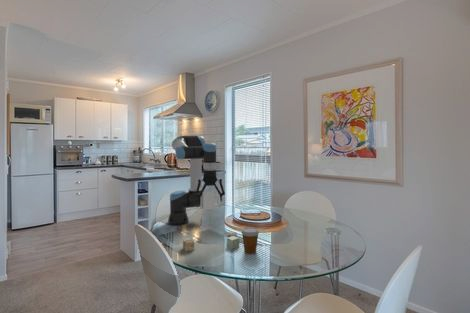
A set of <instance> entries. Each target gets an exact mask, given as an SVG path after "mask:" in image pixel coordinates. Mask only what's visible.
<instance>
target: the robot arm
mask: <svg viewBox="0 0 470 313" xmlns="http://www.w3.org/2000/svg"><path fill="white" fill-rule="evenodd" d="M171 147H172V149H173V150H174V151H175V152H174V153H175V155H174V156H175V158H176V160H189V167H190V169H189V170H190V172H189V173H190V179H189V180H190V182H189V184H190V188H188V191H186V190H185V189H184V190H181V189H180V190H176V191H173V192H171V193H170V195H169V201H170V202H169V203H170V204H169V205H170V206H169V207H170V208H169V209H170V210H169V216H168V220H167V223H169V224H168V225H170V224H172V225H171V226H183V225H187V224H188V223H189V220H190V219H189V216H188V214H187V209H190V208H200V209H202V193H203V191H204V190H205V189H206V187H209V186H210V187H211V186H214V188H215V190H216V192H217V194H218V195H219V196H220V199H219V198H218V197H217V198H218V199H217V200H218V203H217V204H219V202H220V203H221V202H222V201H223V196H224V195H225V194H226V193H225V190H224V186H223V180H222V178H221V177H220V178H217V170H216V169H217V144H216V143H213V142H211V143H210V142H209V143H208V142H207V143H206V140H205V138H204V136H202V135H179V136H178V137H176V138H174V139H173V140H172V142H171ZM202 160H203V163H202ZM202 165H203V170H202ZM202 176H203V177H202ZM217 182H218V183H219V186H220V189H219V188H218V186H217V184H216V183H217ZM203 183H204V184H203ZM220 190H221V191H220ZM220 200H221V201H220ZM218 208H221V204H220V205H219V206H218Z"/></svg>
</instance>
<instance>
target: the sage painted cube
mask: <svg viewBox="0 0 470 313" xmlns="http://www.w3.org/2000/svg"><path fill="white" fill-rule="evenodd" d="M226 247H227V248H229V249H231V250H234V249H236V248H239V247H240V237H238V236H237V237H235V236H231V237H228V236H227V237H226Z"/></svg>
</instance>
